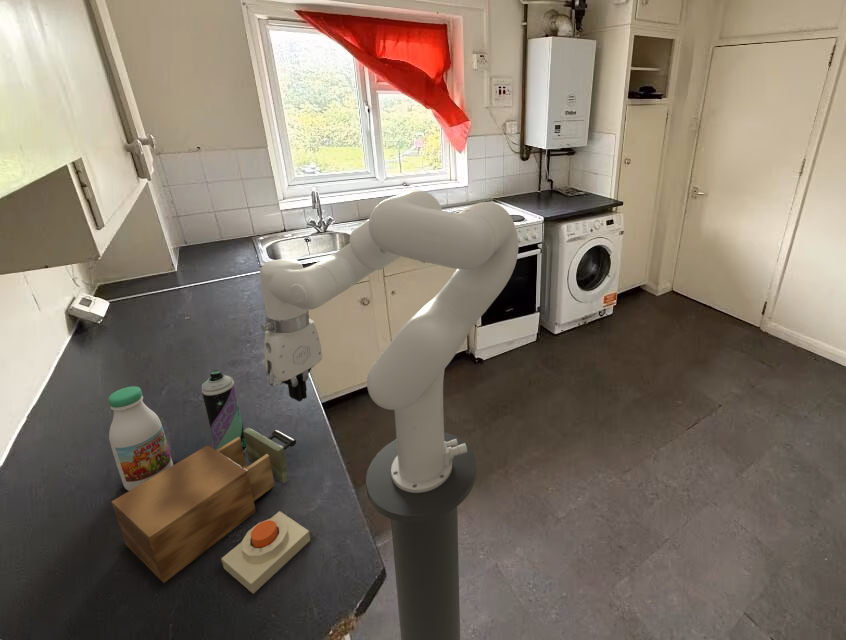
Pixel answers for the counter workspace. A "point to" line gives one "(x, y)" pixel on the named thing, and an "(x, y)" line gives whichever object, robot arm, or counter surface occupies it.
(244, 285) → the counter surface
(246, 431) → the drawer
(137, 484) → the milk bottle
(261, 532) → the button
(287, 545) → the button box
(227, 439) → the spray can
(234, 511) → the cabinet
